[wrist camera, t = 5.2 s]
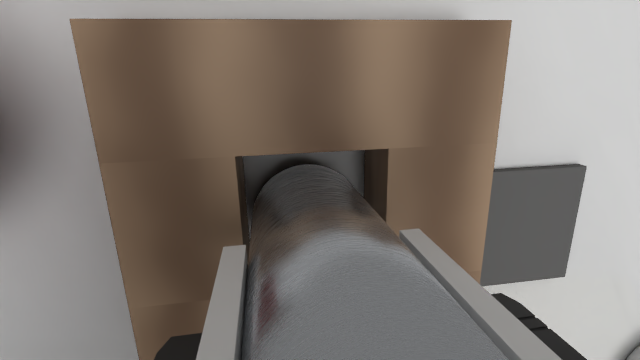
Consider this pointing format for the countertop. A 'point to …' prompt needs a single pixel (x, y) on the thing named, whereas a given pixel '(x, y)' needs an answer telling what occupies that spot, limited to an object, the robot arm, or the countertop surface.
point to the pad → (531, 223)
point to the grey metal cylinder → (343, 282)
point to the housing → (281, 135)
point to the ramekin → (635, 354)
